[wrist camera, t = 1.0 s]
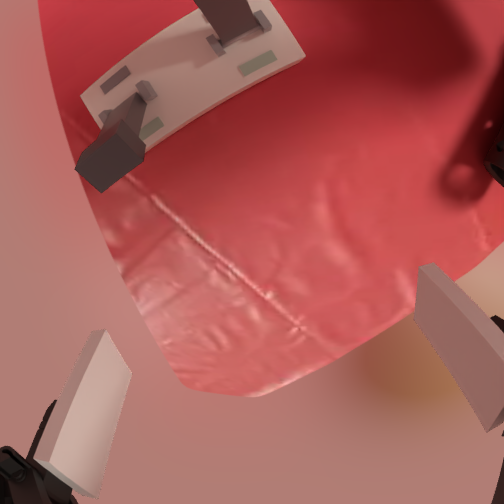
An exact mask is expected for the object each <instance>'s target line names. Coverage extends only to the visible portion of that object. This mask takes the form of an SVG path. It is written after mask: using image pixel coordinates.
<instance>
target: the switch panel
mask: <svg viewBox="0 0 504 504" xmlns="http://www.w3.org/2000/svg"><path fill="white" fill-rule="evenodd" d="M247 1H248V4H249V6H250V8H251V11H252V13H253V15H254V18H255V20H256V22H257V25H258V26H257V27H255V28H253V29H251V30H249V31H247V32H245V33H243V34H241V35H239V36H237V37H235V38H233V39H232V40H230V41H228V42H226V43H224V44H223V42H222V41H221V39H220V38H219V36H218V35H217V33H216V32H215V30H214V29H213V27H212V26H211V25H210V23H209V22H208V20H207V19H206V17H205V16H204V14H203V13H202V12H201V10H200V9H199V8H198V9H196V10H195V11H193V12H191V13H189V14H188V15H186V16H184V17H183V18H181V19H179V20H178V21H176V22H175V23H173V24H171V25H170V26H168V27H167V28H165V29H164V30H162V31H161V32H159V33H158V34H156V35H155V36H153V37H152V38H150V39H149V40H147V41H146V42H145V43H143V44H142V45H140V46H139V47H138V48H136V49H135V50H134V51H132V52H131V53H130V54H128V55H127V56H126V57H125V58H123V59H122V60H121V61H119V62H118V63H117V64H116V65H114V66H113V67H112V68H111V69H110V70H108V71H107V72H106V73H105V74H104V75H102V76H101V77H100V78H99V79H98V80H97V81H95V82H94V83H93V84H92V85H91V86H90V87H89V88H88V89H87V90H85V91H84V92H83V93H82V94H81V95H80V97H81V99H82V100H83V102H84V104H85V105H86V107H87V109H88V110H89V112H90V113H91V115H92V117H93V118H94V120H95V121H96V123H97V125H98V126H99V128H100V129H102V127H103V125H104V123H105V121H106V119H107V117H108V115H109V113H110V112H111V111H112V110H114V109H115V108H116V107H117V106H118V105H120V104H121V103H122V102H123V101H125V100H126V99H127V98H129V97H130V96H131V95H132V94H134V93H135V92H137V93H138V94H139V95H140V96H141V98H142V99H143V100H144V101H145V102H146V103H147V106H146V110H145V114H144V118H143V122H142V126H141V130H140V134H139V138H140V139H141V140H142V141H143V142H144V143H145V144H146V149H145V153H146V152H147V151H149V150H150V149H151V148H153V147H154V146H156V145H157V144H159V143H160V142H161V141H163V140H164V139H166V138H167V137H169V136H170V135H172V134H173V133H175V132H176V131H178V130H179V129H181V128H182V127H184V126H185V125H187V124H189V123H190V122H192V121H193V120H195V119H196V118H198V117H200V116H201V115H203V114H205V113H206V112H208V111H209V110H211V109H213V108H214V107H216V106H218V105H219V104H221V103H223V102H225V101H226V100H228V99H230V98H232V97H233V96H235V95H237V94H239V93H241V92H242V91H244V90H246V89H248V88H250V87H252V86H253V85H255V84H257V83H259V82H261V81H263V80H265V79H267V78H269V77H271V76H273V75H275V74H277V73H279V72H281V71H283V70H285V69H287V68H289V67H291V66H293V65H296V64H298V63H299V62H300V61H301V60H303V59H304V58H305V57H306V55H305V53H304V52H303V50H302V48H301V47H300V45H299V44H298V42H297V40H296V39H295V37H294V36H293V34H292V33H291V31H290V30H289V28H288V27H287V25H286V24H285V22H284V21H283V19H282V18H281V16H280V15H279V13H278V12H277V10H276V9H275V8H274V6H273V5H272V3H271V2H270V1H269V0H247Z"/></svg>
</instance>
